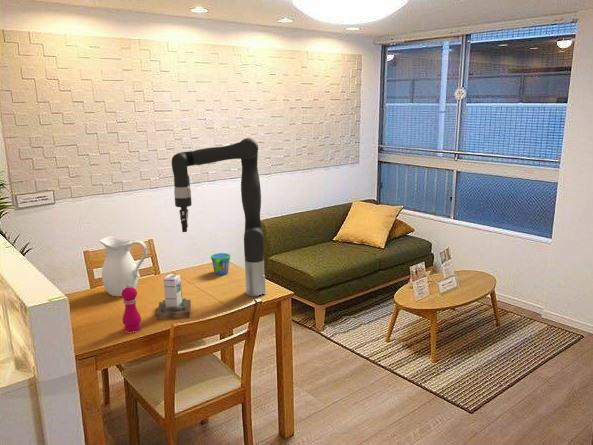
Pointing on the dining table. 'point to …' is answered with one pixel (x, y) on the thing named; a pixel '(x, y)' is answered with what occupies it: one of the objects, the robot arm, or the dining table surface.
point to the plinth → (174, 310)
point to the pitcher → (120, 265)
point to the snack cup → (220, 263)
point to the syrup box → (173, 290)
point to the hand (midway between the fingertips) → (185, 229)
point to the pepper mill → (130, 310)
